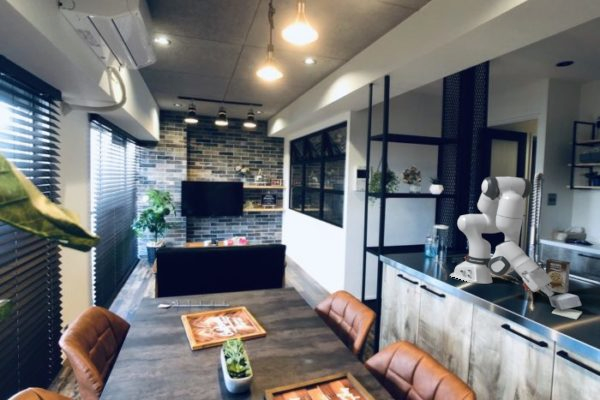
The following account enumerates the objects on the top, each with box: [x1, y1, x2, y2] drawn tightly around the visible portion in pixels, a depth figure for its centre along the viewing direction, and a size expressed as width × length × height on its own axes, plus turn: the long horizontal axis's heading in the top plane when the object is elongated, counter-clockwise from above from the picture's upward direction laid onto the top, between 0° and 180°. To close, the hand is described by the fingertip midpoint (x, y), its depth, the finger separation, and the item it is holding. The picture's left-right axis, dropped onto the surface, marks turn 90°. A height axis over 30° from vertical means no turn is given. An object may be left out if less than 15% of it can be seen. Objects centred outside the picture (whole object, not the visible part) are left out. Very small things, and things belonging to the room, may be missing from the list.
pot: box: [522, 281, 540, 294], centre depth 176 cm, size 8×8×7 cm
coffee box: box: [545, 258, 571, 294], centre depth 177 cm, size 9×6×16 cm
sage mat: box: [551, 308, 583, 320], centre depth 146 cm, size 8×11×1 cm
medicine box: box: [548, 292, 582, 310], centre depth 150 cm, size 8×4×9 cm
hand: (551, 295), depth 150 cm, fingers closed
